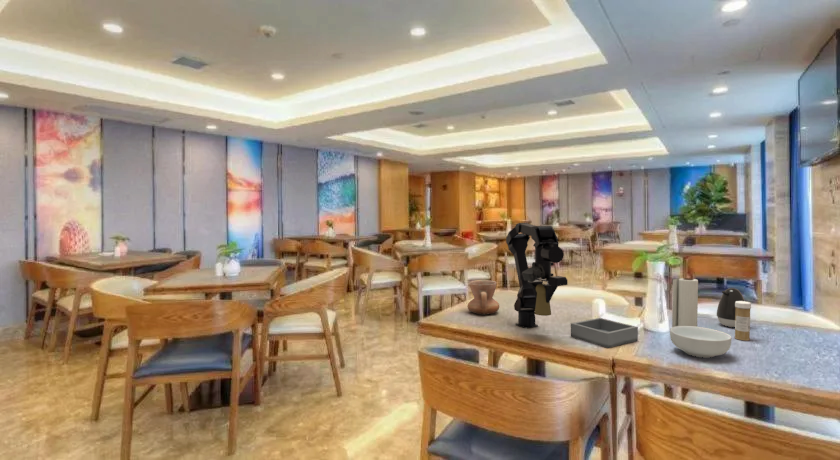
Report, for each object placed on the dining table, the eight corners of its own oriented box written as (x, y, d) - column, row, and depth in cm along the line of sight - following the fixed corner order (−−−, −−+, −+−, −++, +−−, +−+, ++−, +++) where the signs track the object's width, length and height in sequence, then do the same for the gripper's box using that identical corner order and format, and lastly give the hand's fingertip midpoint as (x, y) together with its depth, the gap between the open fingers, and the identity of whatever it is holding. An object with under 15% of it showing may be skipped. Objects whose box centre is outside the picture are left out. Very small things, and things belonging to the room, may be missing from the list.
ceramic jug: (468, 308, 213) (467, 278, 212) (499, 308, 211) (498, 278, 210) (466, 318, 195) (466, 286, 194) (500, 318, 193) (499, 286, 192)
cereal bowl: (707, 366, 132) (708, 342, 132) (658, 350, 148) (658, 329, 147) (743, 358, 139) (744, 335, 139) (692, 343, 154) (692, 323, 154)
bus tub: (570, 336, 164) (570, 323, 164) (599, 330, 172) (599, 317, 172) (607, 348, 150) (608, 333, 150) (637, 340, 158) (637, 326, 158)
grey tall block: (699, 337, 162) (700, 278, 161) (694, 340, 157) (695, 280, 156) (677, 333, 167) (678, 276, 166) (671, 336, 162) (672, 278, 161)
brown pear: (552, 315, 161) (552, 285, 161) (534, 315, 162) (534, 285, 162) (550, 312, 167) (550, 283, 167) (534, 311, 168) (534, 282, 168)
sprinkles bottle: (739, 336, 161) (739, 300, 161) (752, 340, 157) (753, 302, 157) (731, 338, 159) (732, 301, 159) (745, 341, 155) (746, 303, 155)
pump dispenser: (709, 324, 179) (710, 286, 178) (728, 321, 182) (729, 285, 182) (734, 330, 169) (735, 291, 169) (754, 328, 173) (755, 289, 172)
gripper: (509, 258, 168) (509, 299, 169) (545, 263, 152) (545, 309, 152) (531, 256, 173) (531, 296, 174) (568, 261, 157) (568, 305, 158)
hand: (542, 301), depth 165 cm, fingers closed on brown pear, 4 cm apart
